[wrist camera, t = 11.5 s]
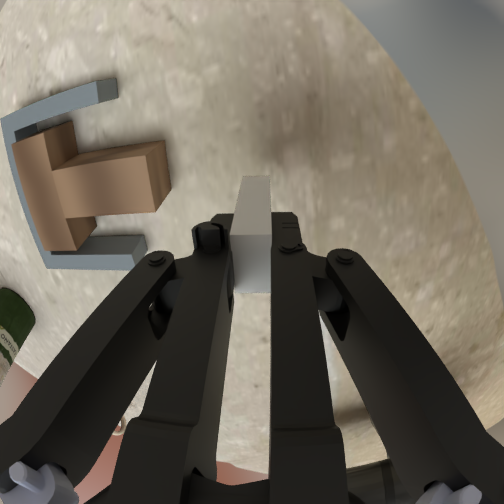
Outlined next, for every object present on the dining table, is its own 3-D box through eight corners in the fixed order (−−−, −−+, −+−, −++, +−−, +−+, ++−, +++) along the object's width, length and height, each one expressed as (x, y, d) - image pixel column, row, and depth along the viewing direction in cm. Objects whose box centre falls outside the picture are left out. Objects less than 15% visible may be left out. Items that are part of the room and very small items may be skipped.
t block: (160, 101, 18) (138, 109, 15) (177, 222, 24) (163, 249, 21) (40, 130, 19) (11, 144, 16) (65, 227, 25) (44, 250, 21)
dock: (116, 78, 17) (96, 81, 15) (147, 250, 26) (136, 270, 23) (21, 110, 18) (0, 118, 15) (60, 251, 26) (46, 268, 24)
